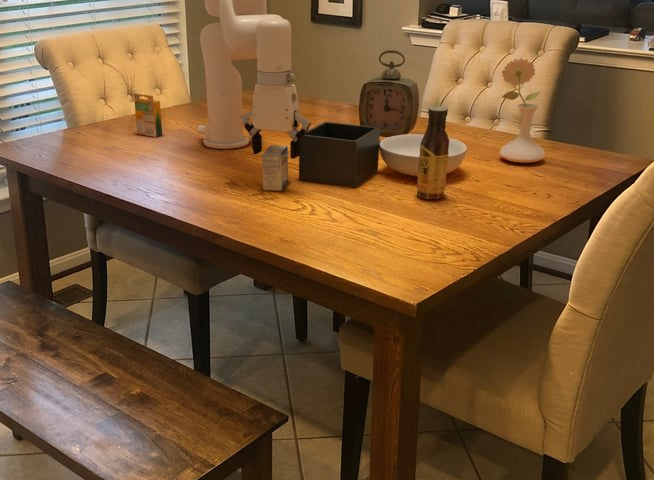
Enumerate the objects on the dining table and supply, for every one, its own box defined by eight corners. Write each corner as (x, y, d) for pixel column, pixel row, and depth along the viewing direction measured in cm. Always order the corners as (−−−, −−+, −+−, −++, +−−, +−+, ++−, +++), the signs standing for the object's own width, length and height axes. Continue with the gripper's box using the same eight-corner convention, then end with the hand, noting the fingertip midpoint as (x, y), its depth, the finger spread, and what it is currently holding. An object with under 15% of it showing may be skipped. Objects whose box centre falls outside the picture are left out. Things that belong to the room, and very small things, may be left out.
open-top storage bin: (298, 179, 194) (298, 134, 189) (324, 164, 206) (324, 121, 201) (355, 187, 188) (356, 141, 183) (378, 171, 200) (380, 127, 195)
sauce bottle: (413, 192, 185) (419, 104, 176) (440, 191, 185) (447, 103, 176) (420, 201, 179) (426, 111, 170) (447, 200, 180) (455, 110, 171)
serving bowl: (411, 190, 186) (412, 160, 183) (362, 167, 203) (363, 140, 200) (482, 177, 195) (485, 149, 192) (430, 156, 212) (431, 130, 208)
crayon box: (163, 135, 233) (159, 94, 228) (156, 137, 231) (152, 96, 226) (143, 132, 237) (140, 91, 231) (136, 134, 234) (133, 93, 229)
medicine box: (281, 191, 186) (281, 154, 182) (262, 190, 187) (261, 153, 183) (288, 181, 193) (288, 145, 189) (270, 180, 194) (269, 144, 190)
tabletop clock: (357, 147, 220) (360, 51, 209) (367, 139, 228) (370, 46, 216) (409, 152, 215) (415, 54, 204) (417, 144, 223) (424, 49, 211)
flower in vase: (547, 157, 210) (561, 56, 199) (540, 168, 201) (554, 64, 190) (497, 151, 215) (507, 53, 204) (487, 162, 206) (498, 60, 195)
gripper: (317, 78, 178) (317, 155, 186) (248, 73, 185) (251, 147, 193) (302, 83, 172) (302, 163, 180) (231, 78, 179) (235, 155, 187)
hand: (276, 155), depth 186 cm, fingers open, 9 cm apart
